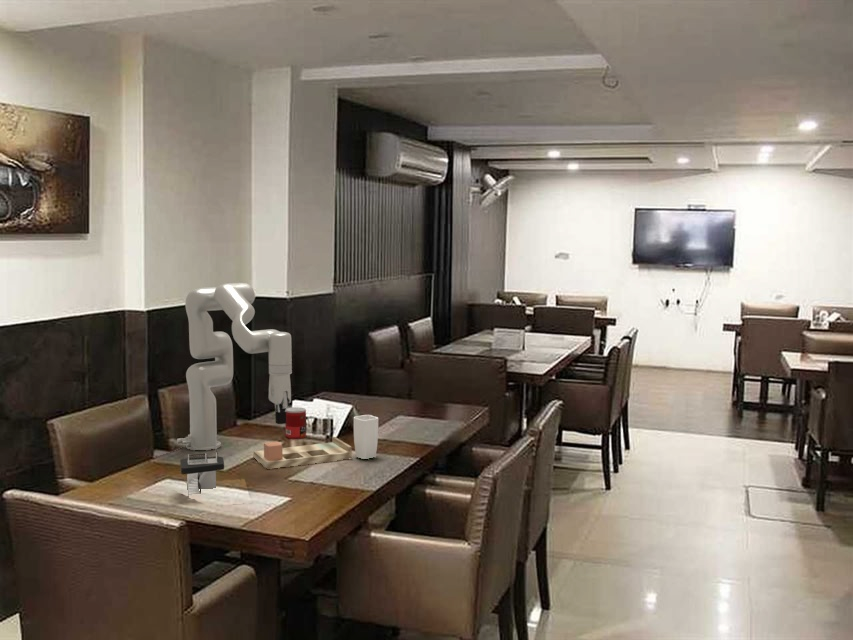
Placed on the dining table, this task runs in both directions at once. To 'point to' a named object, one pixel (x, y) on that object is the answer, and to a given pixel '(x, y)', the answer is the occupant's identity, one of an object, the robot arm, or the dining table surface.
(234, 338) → the robot arm
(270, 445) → the block
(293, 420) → the canned food
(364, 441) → the cup
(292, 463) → the board
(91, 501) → the dining table surface
